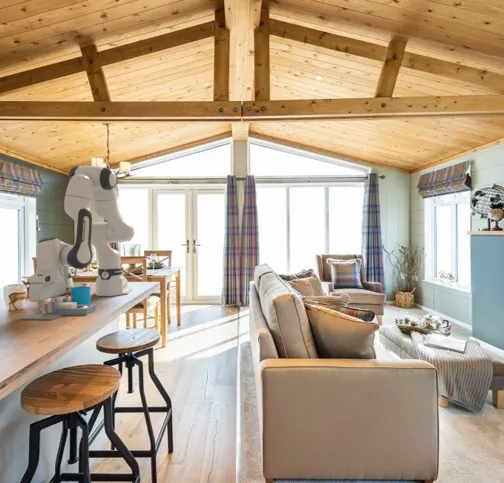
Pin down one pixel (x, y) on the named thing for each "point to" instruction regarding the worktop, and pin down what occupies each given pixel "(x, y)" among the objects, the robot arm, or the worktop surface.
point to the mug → (81, 295)
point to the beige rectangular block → (59, 306)
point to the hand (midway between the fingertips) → (49, 308)
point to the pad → (41, 317)
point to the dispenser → (71, 311)
